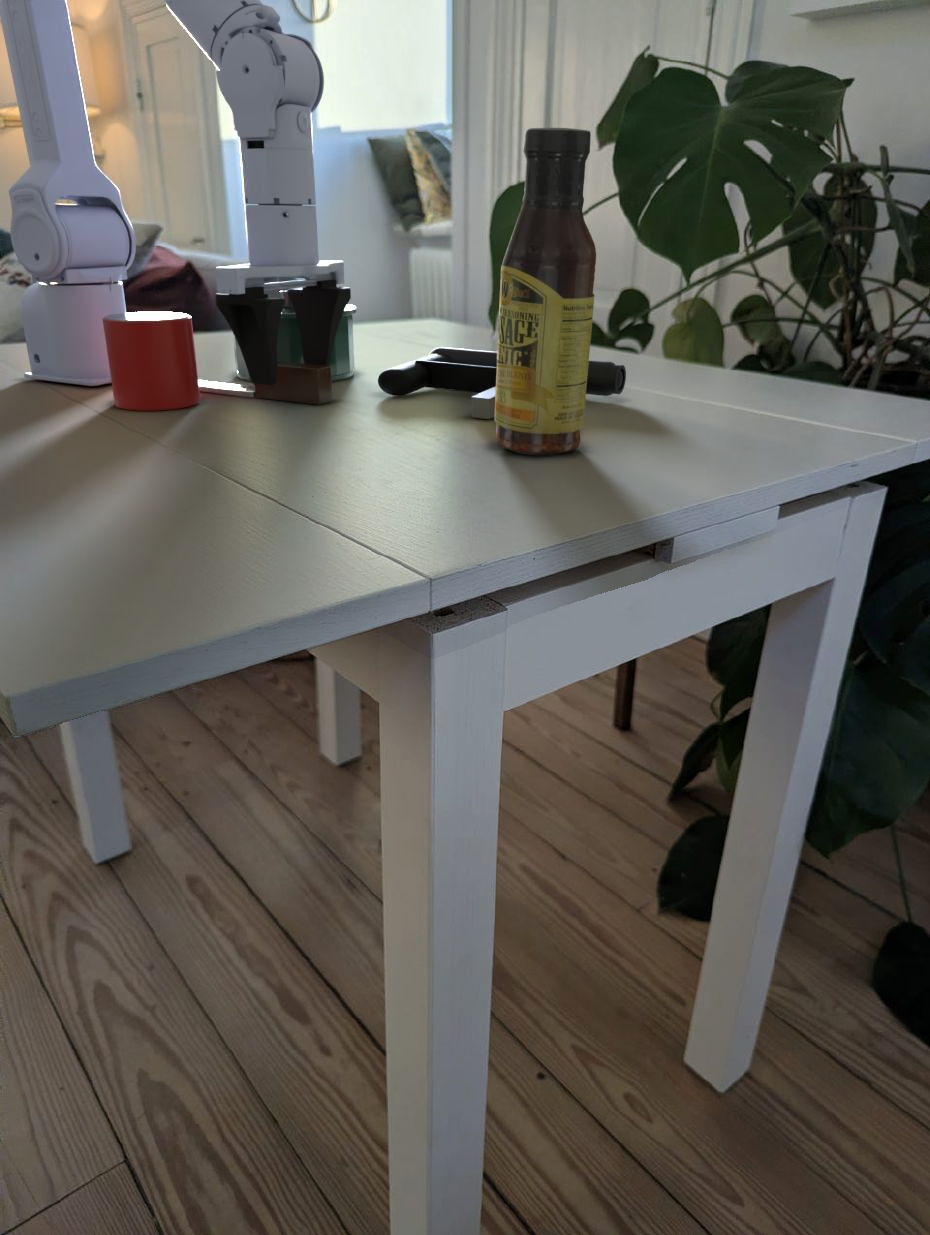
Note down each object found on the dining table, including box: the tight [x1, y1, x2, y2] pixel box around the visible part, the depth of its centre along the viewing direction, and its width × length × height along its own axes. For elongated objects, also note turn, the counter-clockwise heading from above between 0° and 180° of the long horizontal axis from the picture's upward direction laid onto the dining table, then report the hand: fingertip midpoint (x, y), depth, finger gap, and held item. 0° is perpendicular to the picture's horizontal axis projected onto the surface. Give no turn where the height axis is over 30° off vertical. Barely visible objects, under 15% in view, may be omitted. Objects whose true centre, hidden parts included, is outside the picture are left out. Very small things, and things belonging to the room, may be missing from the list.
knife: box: [198, 361, 334, 406], centre depth 81 cm, size 16×2×3 cm, turn 63°
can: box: [102, 311, 201, 412], centre depth 76 cm, size 7×7×7 cm
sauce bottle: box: [494, 127, 597, 456], centre depth 60 cm, size 7×6×20 cm
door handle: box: [377, 346, 627, 420], centre depth 80 cm, size 3×20×16 cm
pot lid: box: [279, 289, 357, 319], centre depth 89 cm, size 13×13×3 cm
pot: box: [232, 314, 355, 382], centre depth 91 cm, size 12×12×6 cm
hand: (291, 377), depth 79 cm, fingers open, 7 cm apart
